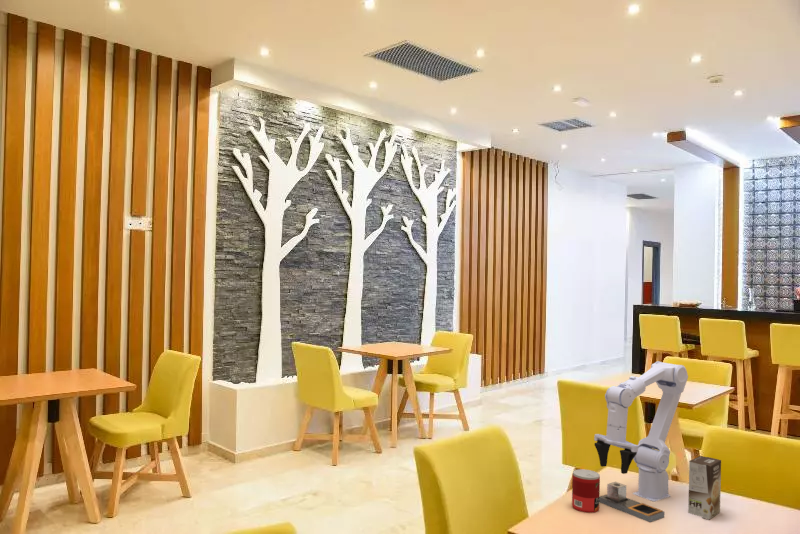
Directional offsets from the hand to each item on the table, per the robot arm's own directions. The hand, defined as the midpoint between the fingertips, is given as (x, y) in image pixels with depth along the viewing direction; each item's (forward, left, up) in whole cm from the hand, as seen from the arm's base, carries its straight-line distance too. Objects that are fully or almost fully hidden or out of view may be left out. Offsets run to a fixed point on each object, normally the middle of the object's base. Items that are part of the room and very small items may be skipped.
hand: (613, 469), depth 190 cm
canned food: (+9, -3, -12) cm, 15 cm away
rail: (-2, +5, -11) cm, 13 cm away
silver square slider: (-2, 0, -11) cm, 11 cm away
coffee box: (-20, +18, -12) cm, 29 cm away
